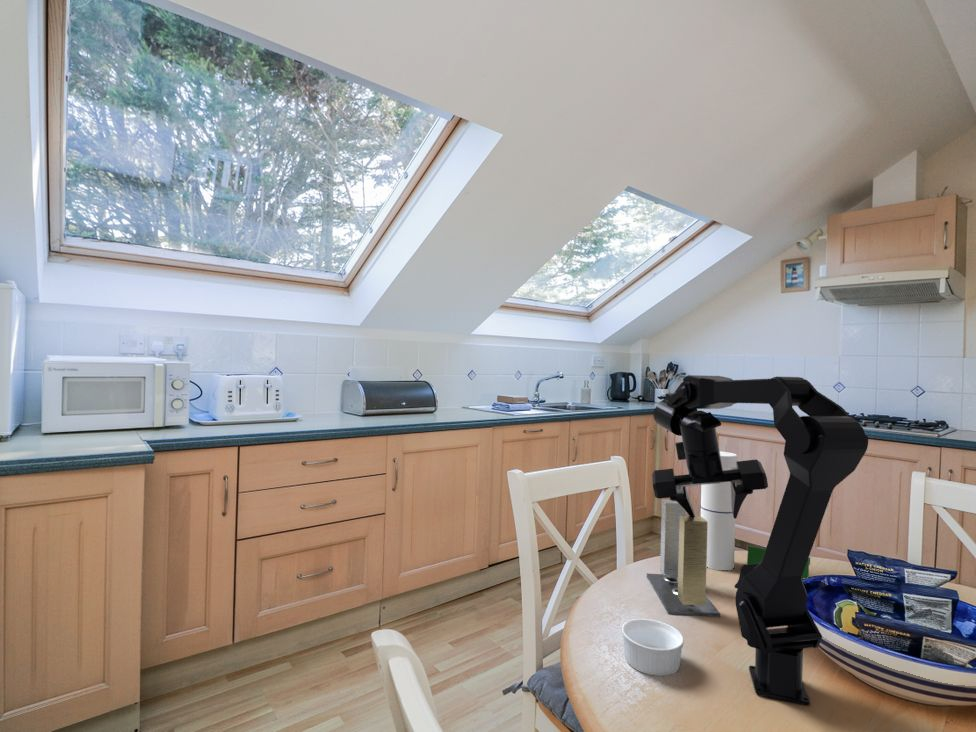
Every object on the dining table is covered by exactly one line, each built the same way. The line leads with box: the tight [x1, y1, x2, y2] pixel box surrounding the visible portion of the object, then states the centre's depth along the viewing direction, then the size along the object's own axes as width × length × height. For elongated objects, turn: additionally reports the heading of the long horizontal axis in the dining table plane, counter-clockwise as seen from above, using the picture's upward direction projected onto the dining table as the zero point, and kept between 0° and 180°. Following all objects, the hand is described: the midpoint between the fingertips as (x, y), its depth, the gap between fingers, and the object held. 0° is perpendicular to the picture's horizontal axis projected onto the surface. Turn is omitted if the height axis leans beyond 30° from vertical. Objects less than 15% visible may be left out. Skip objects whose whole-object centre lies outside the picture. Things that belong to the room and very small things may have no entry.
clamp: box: [746, 545, 811, 579], centre depth 111 cm, size 12×6×9 cm, turn 47°
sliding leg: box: [677, 515, 708, 607], centre depth 94 cm, size 3×4×16 cm
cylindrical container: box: [699, 450, 738, 571], centre depth 116 cm, size 7×7×25 cm
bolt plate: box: [646, 498, 721, 618], centre depth 100 cm, size 16×9×17 cm, turn 176°
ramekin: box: [621, 618, 685, 677], centre depth 77 cm, size 9×9×4 cm
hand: (714, 518), depth 96 cm, fingers open, 7 cm apart
